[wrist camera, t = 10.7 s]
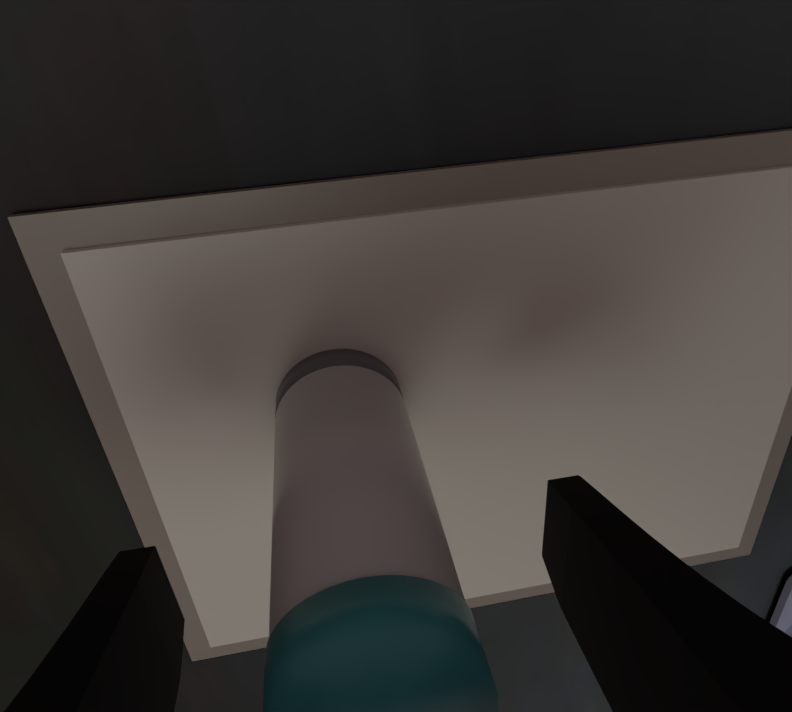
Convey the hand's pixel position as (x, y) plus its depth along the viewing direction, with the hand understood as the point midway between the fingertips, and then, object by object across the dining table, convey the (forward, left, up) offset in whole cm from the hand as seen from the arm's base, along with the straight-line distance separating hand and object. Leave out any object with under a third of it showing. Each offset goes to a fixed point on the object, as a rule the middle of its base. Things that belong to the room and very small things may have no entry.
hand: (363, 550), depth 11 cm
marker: (0, 0, -5) cm, 5 cm away
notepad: (-4, +2, -5) cm, 7 cm away
